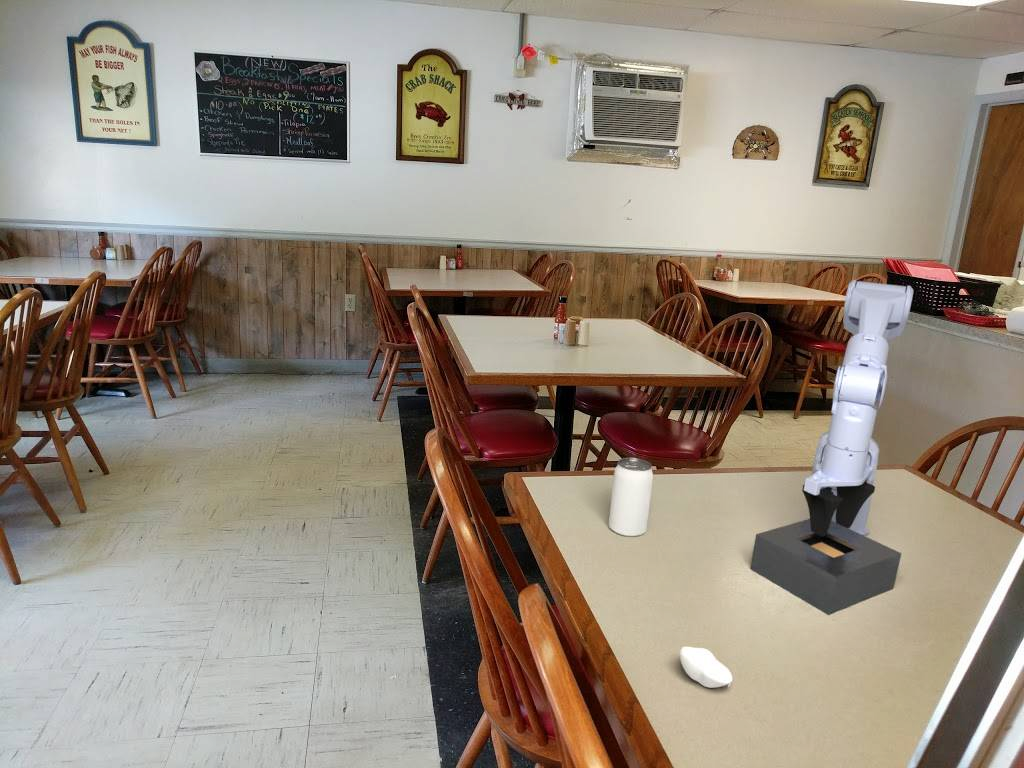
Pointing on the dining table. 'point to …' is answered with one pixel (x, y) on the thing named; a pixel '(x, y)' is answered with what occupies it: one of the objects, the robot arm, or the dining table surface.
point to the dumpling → (704, 667)
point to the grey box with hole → (825, 565)
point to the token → (827, 549)
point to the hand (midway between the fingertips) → (830, 529)
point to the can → (631, 497)
